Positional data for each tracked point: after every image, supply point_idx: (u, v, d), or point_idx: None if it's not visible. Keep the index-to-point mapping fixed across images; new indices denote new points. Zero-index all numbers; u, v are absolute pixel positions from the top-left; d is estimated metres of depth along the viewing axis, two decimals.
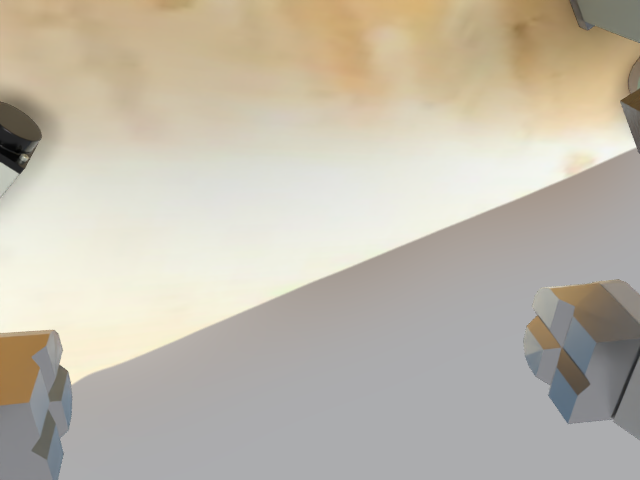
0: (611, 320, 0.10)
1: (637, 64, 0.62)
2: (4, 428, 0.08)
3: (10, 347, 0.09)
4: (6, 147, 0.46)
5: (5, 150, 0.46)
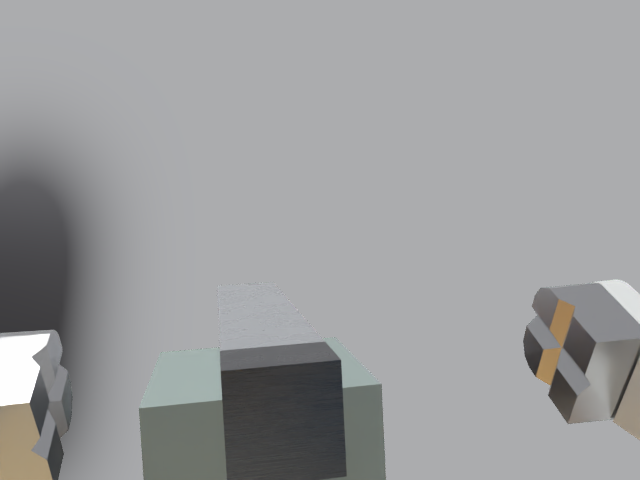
0: (611, 320, 0.10)
1: None
2: (4, 428, 0.08)
3: (10, 347, 0.09)
4: None
5: None
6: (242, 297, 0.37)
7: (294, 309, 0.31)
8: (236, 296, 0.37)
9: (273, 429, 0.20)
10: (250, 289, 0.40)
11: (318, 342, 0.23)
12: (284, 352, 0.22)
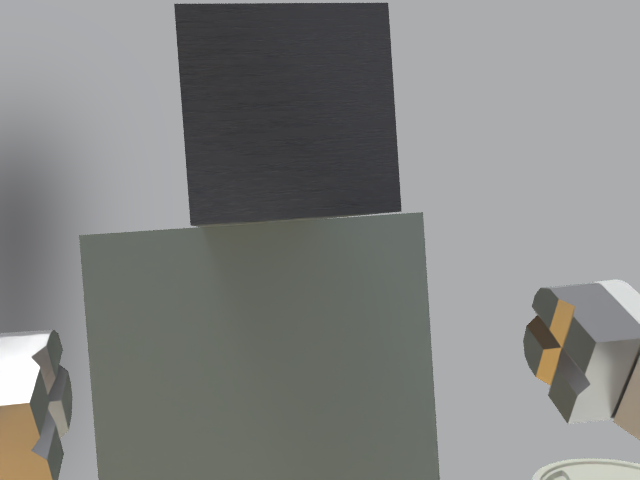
0: (611, 321, 0.10)
1: None
2: (4, 428, 0.08)
3: (10, 347, 0.09)
4: None
5: None
6: None
7: None
8: None
9: (271, 118, 0.11)
10: None
11: None
12: None
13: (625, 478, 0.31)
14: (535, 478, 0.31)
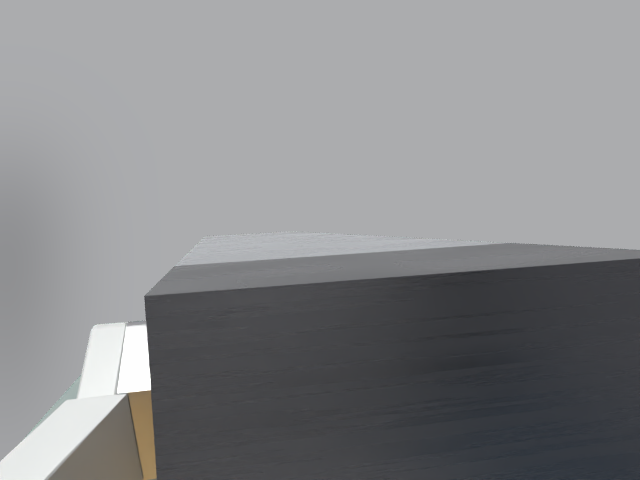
0: None
1: None
2: None
3: None
4: None
5: None
6: None
7: (351, 235, 0.15)
8: (234, 237, 0.21)
9: None
10: None
11: (490, 245, 0.07)
12: (406, 257, 0.06)
13: None
14: None
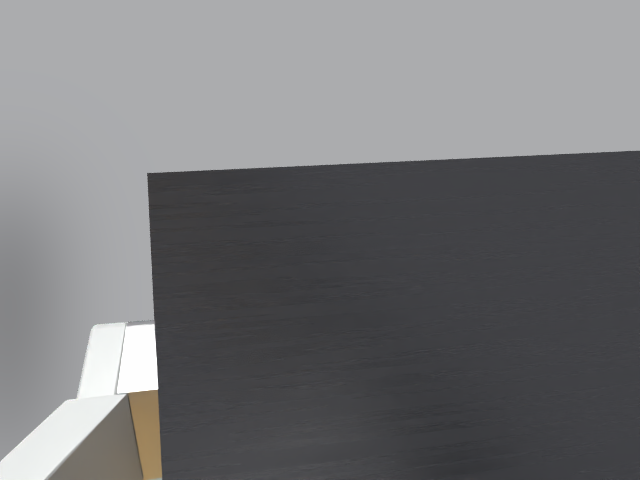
0: None
1: None
2: None
3: None
4: None
5: None
6: None
7: None
8: None
9: (400, 454, 0.04)
10: None
11: None
12: None
13: None
14: None
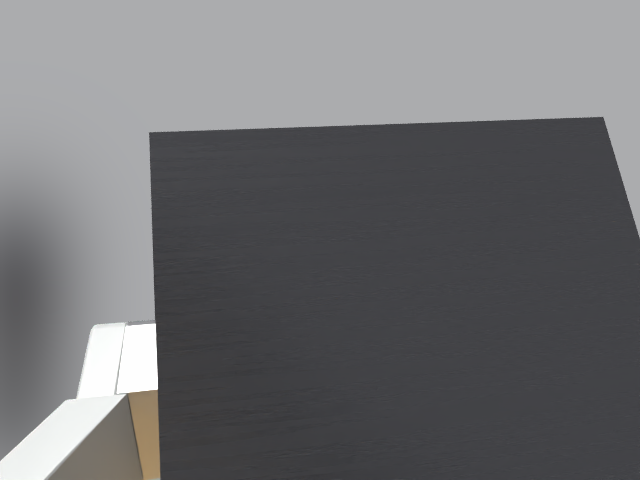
0: None
1: None
2: None
3: None
4: None
5: None
6: None
7: None
8: None
9: (384, 382, 0.04)
10: None
11: None
12: None
13: None
14: None
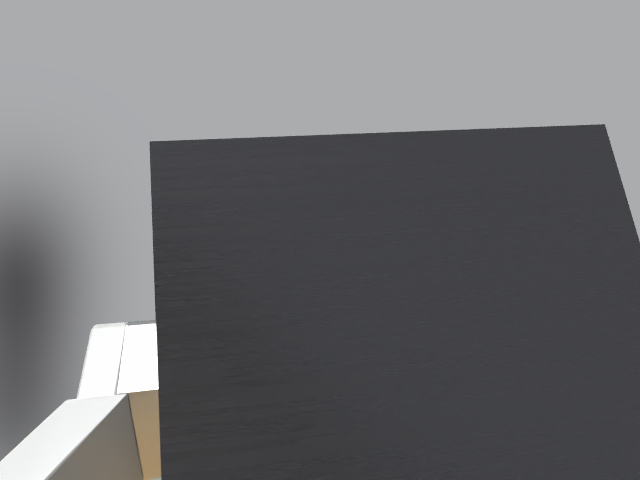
0: None
1: None
2: None
3: None
4: None
5: None
6: None
7: None
8: None
9: (385, 391, 0.04)
10: None
11: None
12: None
13: None
14: None
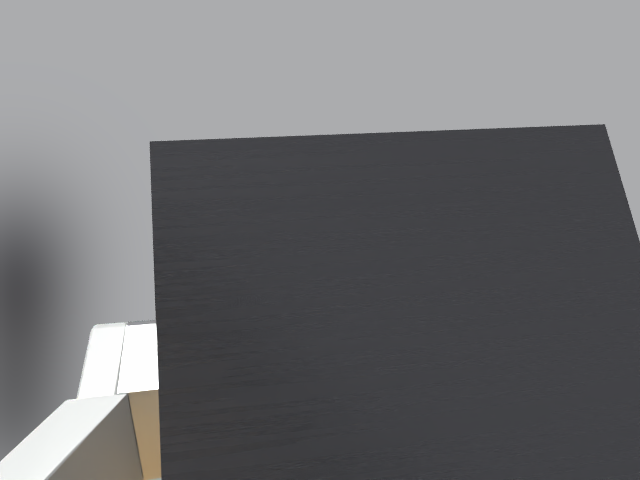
0: None
1: None
2: None
3: None
4: None
5: None
6: None
7: None
8: None
9: (386, 391, 0.04)
10: None
11: None
12: None
13: None
14: None
